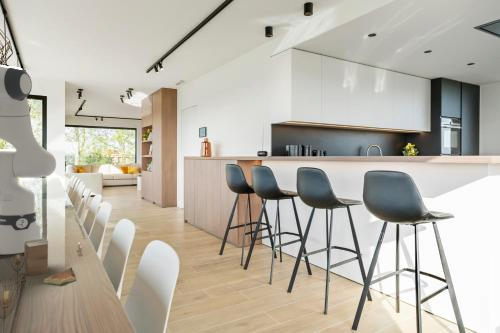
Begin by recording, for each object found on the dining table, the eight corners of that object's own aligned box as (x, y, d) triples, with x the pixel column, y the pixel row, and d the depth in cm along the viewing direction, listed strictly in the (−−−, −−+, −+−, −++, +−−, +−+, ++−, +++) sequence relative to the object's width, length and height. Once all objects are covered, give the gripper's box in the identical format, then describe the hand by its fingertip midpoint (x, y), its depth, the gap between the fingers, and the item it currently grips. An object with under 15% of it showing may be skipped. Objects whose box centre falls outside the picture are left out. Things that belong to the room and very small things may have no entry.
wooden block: (24, 272, 102) (24, 240, 102) (42, 268, 106) (42, 237, 106) (29, 276, 99) (29, 243, 99) (47, 272, 102) (47, 240, 102)
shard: (71, 271, 104) (71, 266, 104) (91, 274, 103) (91, 268, 103) (42, 284, 94) (42, 278, 94) (64, 287, 92) (64, 280, 92)
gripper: (-35, 176, 78) (25, 185, 90) (-73, 184, 87) (-13, 191, 99) (-40, 202, 77) (22, 207, 89) (-78, 207, 86) (-17, 212, 98)
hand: (3, 199), depth 94 cm, fingers open, 8 cm apart
